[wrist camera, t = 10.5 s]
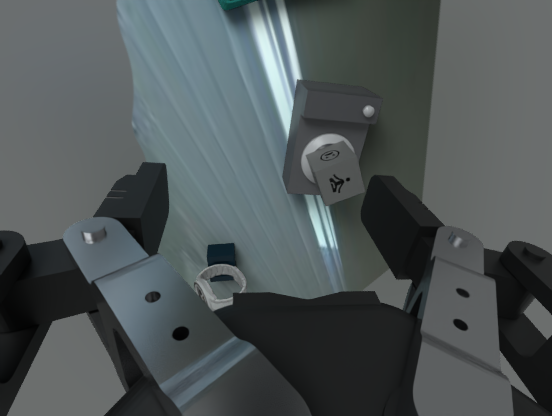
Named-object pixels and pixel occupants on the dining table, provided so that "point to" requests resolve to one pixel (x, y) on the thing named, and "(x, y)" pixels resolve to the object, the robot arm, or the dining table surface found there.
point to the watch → (219, 274)
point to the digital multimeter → (233, 3)
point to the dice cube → (336, 172)
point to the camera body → (325, 126)
